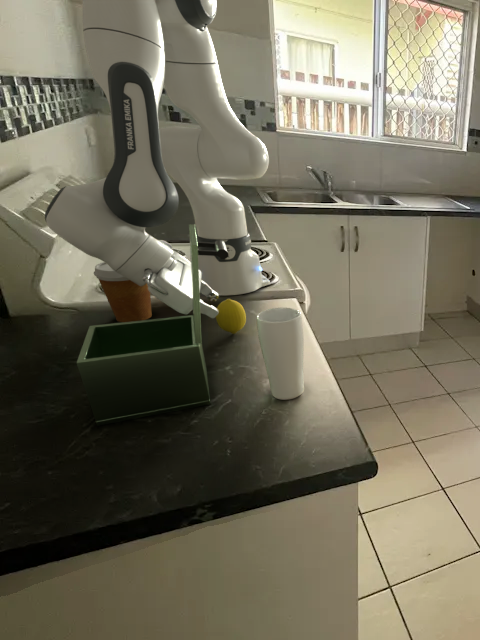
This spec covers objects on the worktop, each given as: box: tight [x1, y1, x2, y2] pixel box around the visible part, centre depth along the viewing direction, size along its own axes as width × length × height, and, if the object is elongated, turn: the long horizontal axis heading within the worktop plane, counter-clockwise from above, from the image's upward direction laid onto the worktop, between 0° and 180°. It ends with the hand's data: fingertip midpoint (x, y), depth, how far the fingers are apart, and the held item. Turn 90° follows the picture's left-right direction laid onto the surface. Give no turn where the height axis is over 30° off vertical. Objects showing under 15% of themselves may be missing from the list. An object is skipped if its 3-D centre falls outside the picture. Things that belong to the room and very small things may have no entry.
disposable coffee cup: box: [93, 261, 153, 323], centre depth 102 cm, size 10×10×12 cm
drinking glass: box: [255, 307, 305, 401], centre depth 80 cm, size 7×7×15 cm
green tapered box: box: [76, 314, 211, 427], centre depth 77 cm, size 15×14×11 cm
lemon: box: [215, 298, 247, 335], centre depth 100 cm, size 6×6×8 cm
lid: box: [188, 224, 228, 343], centre depth 77 cm, size 16×14×5 cm
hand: (216, 306), depth 98 cm, fingers open, 8 cm apart
